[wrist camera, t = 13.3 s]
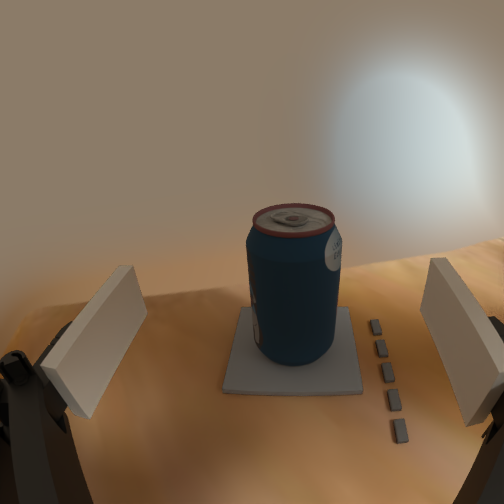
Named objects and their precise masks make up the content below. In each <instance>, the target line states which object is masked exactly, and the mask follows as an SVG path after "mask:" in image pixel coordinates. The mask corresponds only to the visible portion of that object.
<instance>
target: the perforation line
mask: <svg viewBox="0 0 504 504" xmlns="http://www.w3.org/2000/svg"><path fill="white" fill-rule="evenodd" d="M370 323H371V327H372V331H373V334H374V335H382V330H381V327H380V324H379V320H378V319H376V320H370ZM376 346H377V350H378V354H379V357H388V351H387V348H386V344H385V341H384V340H376ZM381 367H382V371H383V375H384V380H385V383H388V382H394V381H395V377H394V374H393V370H392V366H391V362H390V363H382V365H381ZM387 393H388V398H389V403H390V408H391V411H400V410H401V409H402V406H401V402H400V398H399V394H398V389H389V390H388V391H387ZM393 423H394V428H395V434H396V439H397V444H399V443H406V442H408V441H409V439H408V434H407V429H406V424H405V420H404V419H396V420H394V421H393Z"/></svg>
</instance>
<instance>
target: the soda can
mask: <svg viewBox="0 0 504 504" xmlns="http://www.w3.org/2000/svg"><path fill="white" fill-rule="evenodd" d="M334 222H335V217H334V215H333V213H332V212H331V211H329V210H328V209H325V208H323V207H320V206H315V205H310V204H300V203H291V204H281V205H274V206H270V207H267V208H264V209H262V210H260V211H258V212H257V213H256V214H255V215H254V217H253V226H252V228H251V230H250V233H249V235H248V237H247V240H246V249H247V262H248V272H249V285H250V297H251V309H252V320H253V332H254V340H255V343H256V345H257V347H258V348H259V350H260V351H261V352H262V353H263V354H264V355H265V356H266V357H267V358H269V359H270V360H271V361H272V362H274V363H276V364H278V365H281V366H286V367H302V366H306V365H309V364H311V363H313V362H315V361H316V360H318V359H319V358H320V357H321V356H322V355H324V354H325V353H326V352H327V351H328V349H329V348H330V347H331V345H332V343H333V340H334V335H335V325H336V316H337V305H338V294H339V282H340V269H341V252H342V238H341V236H340V234H339V232H338V230H337V227H336V226H335V223H334Z"/></svg>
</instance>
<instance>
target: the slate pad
mask: <svg viewBox="0 0 504 504" xmlns="http://www.w3.org/2000/svg"><path fill="white" fill-rule="evenodd" d="M222 391H223V393H232V394H249V395H277V396H323V395H350V394H362V392H363V386H362V379H361V373H360V367H359V362H358V356H357V350H356V345H355V340H354V334H353V329H352V324H351V319H350V314H349V309H348V307H337V316H336V325H335V335H334V340H333V343H332V345H331V347H330V348H329V349H328V351H327V352H326V353H325V354H324V355H322V356H321V357H320V358H319V359H318V360H316V361H315V362H313V363H311V364H309V365H306V366H302V367H286V366H281V365H278V364H276V363H274V362H272V361H271V360H270V359H269V358H267V357H266V356H265V355H264V354H263V353H262V352H261V351H260V350H259V348H258V347H257V345H256V343H255V340H254V332H253V320H252V309H251V307H241V312H240V316H239V320H238V324H237V328H236V333H235V337H234V341H233V345H232V349H231V354H230V358H229V362H228V366H227V370H226V374H225V379H224V383H223V387H222Z"/></svg>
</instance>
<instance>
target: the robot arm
mask: <svg viewBox="0 0 504 504" xmlns="http://www.w3.org/2000/svg"><path fill="white" fill-rule="evenodd" d="M420 311H421V314H422V316H423V318H424V320H425V322H426V325H427V327H428V329H429V331H430V334H431V336H432V338H433V341H434V343H435V345H436V348H437V350H438V352H439V355H440V357H441V360H442V362H443V365H444V367H445V370H446V372H447V375H448V377H449V380H450V383H451V385H452V388H453V391H454V394H455V396H456V399H457V402H458V405H459V408H460V411H461V414H462V417H463V420H464V423H465V426H466V427H467V426H471V425H475V424H479V423H482V422H484V421H485V419H486V418H487V416H488V415H489V414H490V412H491V414H492V416H493V419H494V420H493V421H492V423H491V424H490V425H489V427H488V428H487V429H486V431H485V432H484V433H483V435H482V436H481V437H482V438H484V436H485V435H486V436H485V439H484V441H483V444H482V446H481V448H480V451H479V453H478V455H477V457H476V459H475V462H474V464H473V466H472V468H471V470H470V472H469V474H468V476H467V478H466V480H465V482H464V484H463V486H462V488H461V489H460V491H459V493H458V495H457V497H456V498H455V500H454V502H453V504H504V324H503V323H502V322H501V321H499V320H498V319H497V318H496V317H494V316H492V317H487V315H486V314H485V312H484V311H483V309H482V308H481V306H480V305H479V303H478V302H477V300H476V299H475V297H474V296H473V294H472V293H471V291H470V290H469V289H468V287H467V286H466V284H465V283H464V281H463V280H462V279H461V277H460V276H459V275H458V273H457V272H456V271H455V269H454V268H453V266H452V265H451V264H450V262H449V261H448V260H447V259H446V258H431V260H430V265H429V270H428V275H427V280H426V285H425V290H424V294H423V299H422V303H421V307H420ZM147 314H148V312H147V309H146V306H145V303H144V300H143V297H142V294H141V290H140V287H139V284H138V281H137V277H136V274H135V270H134V267H133V266H132V265H131V266H119V267H118V268H117V269H116V270H115V271H114V272H113V274H112V275H111V276H110V277H109V278H108V279H107V281H106V282H105V283H104V284H103V285H102V287H101V288H100V289H99V290H98V291H97V292H96V294H95V295H94V296H93V297H92V299H91V300H90V301H89V302H88V303H87V305H86V306H85V307H84V308H83V310H82V311H81V312H80V313H79V315H78V316H77V317H76V318H75V320H74V321H71V322H69V323H68V324H67V325H65V326H64V327H63V328H62V329H61V330H60V331H59V332H58V334H57V335H56V336H55V338H54V339H53V340H52V341H51V343H50V345H48V347H47V348H46V349H45V351H44V352H43V353H42V355H41V356H40V357H39V359H38V360H37V361H36V363H35V364H34V365H33V366H32V365H31V363H30V362H29V360H28V358H27V357H26V355H25V354H24V353H23V352H22V351H19V350H15V351H11V352H9V353H8V354H6V355H5V356H4V357H2V358H1V360H0V373H1V374H2V376H3V377H4V379H0V504H94V503H93V501H92V498H91V495H90V493H89V490H88V487H87V484H86V481H85V478H84V475H83V472H82V469H81V465H80V462H79V459H78V455H77V452H76V448H75V445H74V441H73V437H72V433H71V429H70V425H69V421H68V417H67V415H66V413H65V412H64V411H65V409H66V408H67V406H68V407H69V408H70V410H71V411H72V412H73V414H74V415H76V416H79V417H83V418H86V419H90V418H91V416H92V414H93V412H94V411H95V409H96V407H97V405H98V403H99V401H100V399H101V397H102V395H103V393H104V391H105V390H106V388H107V386H108V384H109V382H110V380H111V378H112V377H113V375H114V373H115V371H116V369H117V367H118V366H119V364H120V362H121V360H122V358H123V356H124V355H125V353H126V351H127V349H128V348H129V346H130V344H131V342H132V340H133V339H134V337H135V335H136V333H137V332H138V330H139V328H140V326H141V325H142V323H143V321H144V319H145V318H146V316H147Z"/></svg>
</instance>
